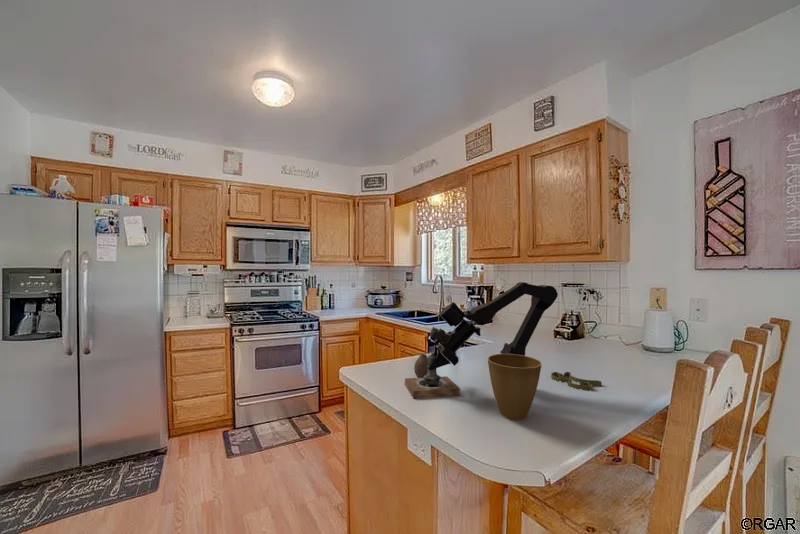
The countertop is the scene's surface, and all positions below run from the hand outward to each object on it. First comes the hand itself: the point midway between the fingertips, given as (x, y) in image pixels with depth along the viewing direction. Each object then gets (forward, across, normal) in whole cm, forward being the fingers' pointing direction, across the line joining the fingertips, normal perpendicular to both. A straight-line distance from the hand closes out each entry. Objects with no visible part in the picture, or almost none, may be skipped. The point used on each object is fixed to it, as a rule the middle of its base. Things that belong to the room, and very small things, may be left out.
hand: (428, 367), depth 121 cm
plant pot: (-10, +21, +21) cm, 32 cm away
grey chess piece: (+4, 0, +6) cm, 7 cm away
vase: (+6, -15, +6) cm, 17 cm away
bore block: (+5, 0, +6) cm, 8 cm away
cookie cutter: (-34, -8, +46) cm, 58 cm away
